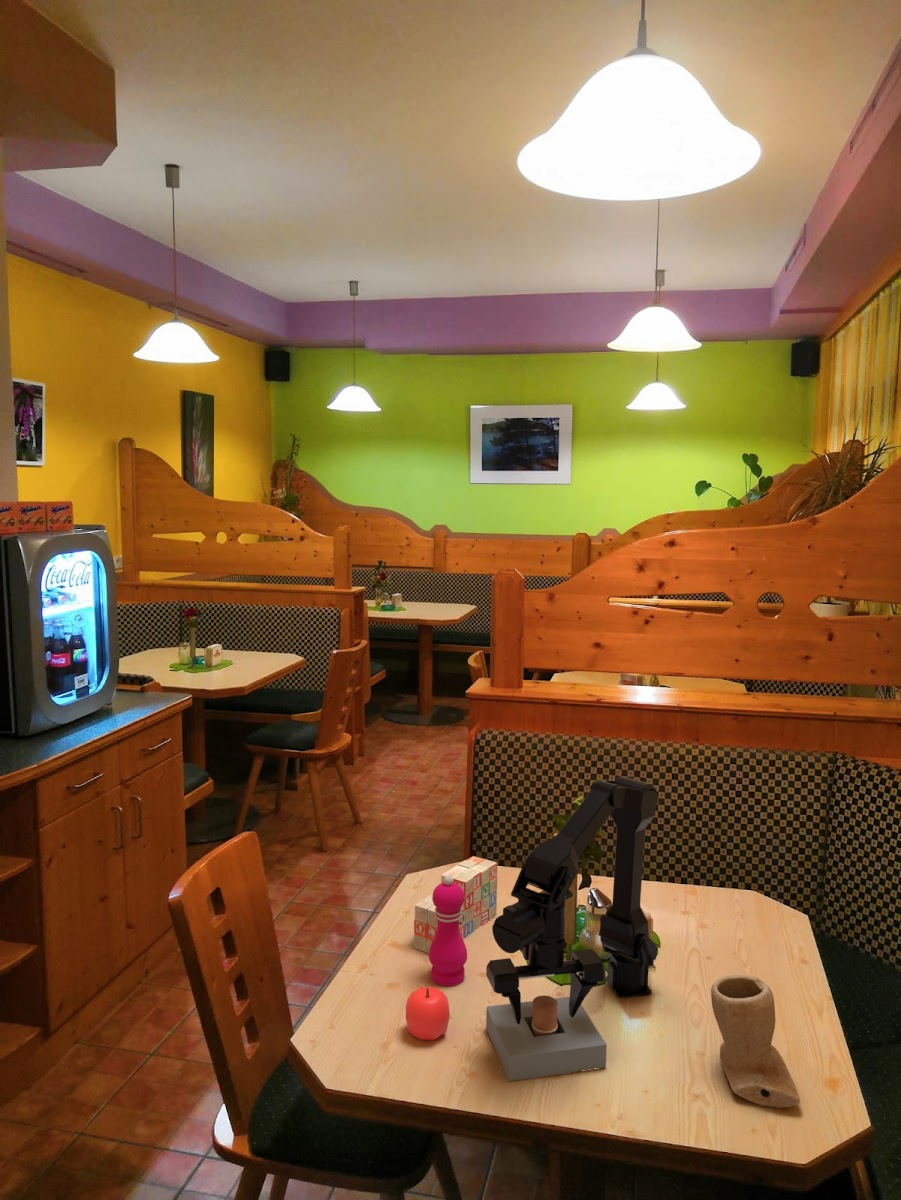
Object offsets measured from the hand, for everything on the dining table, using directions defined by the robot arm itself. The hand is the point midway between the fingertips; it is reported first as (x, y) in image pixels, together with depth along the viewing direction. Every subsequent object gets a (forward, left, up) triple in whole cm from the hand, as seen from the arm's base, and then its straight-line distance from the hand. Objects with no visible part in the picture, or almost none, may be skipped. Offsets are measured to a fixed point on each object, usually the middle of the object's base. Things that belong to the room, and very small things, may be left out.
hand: (544, 1019), depth 148 cm
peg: (0, 0, -5) cm, 5 cm away
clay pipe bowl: (-29, +14, -5) cm, 33 cm away
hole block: (0, 0, -5) cm, 5 cm away
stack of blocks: (+6, -41, -5) cm, 42 cm away
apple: (+18, -8, -5) cm, 20 cm away
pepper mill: (+11, -24, -5) cm, 27 cm away
